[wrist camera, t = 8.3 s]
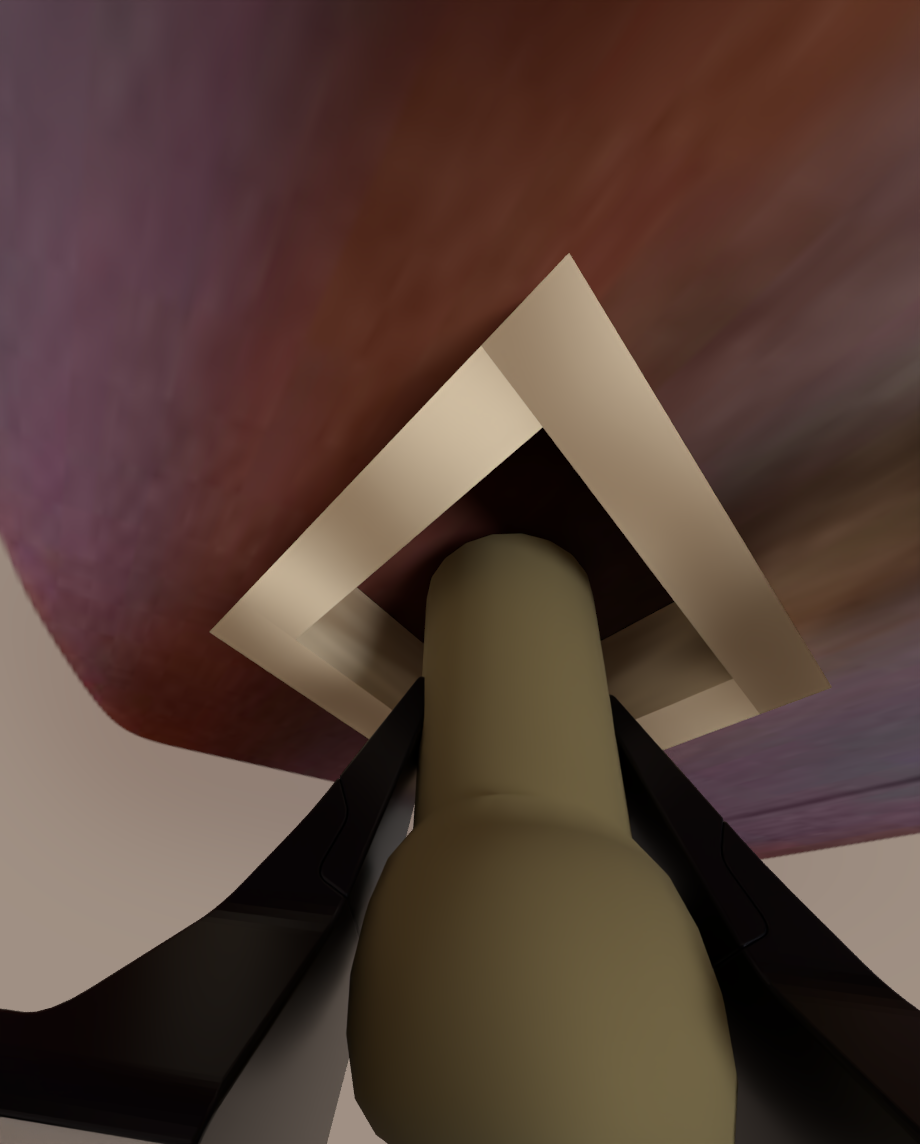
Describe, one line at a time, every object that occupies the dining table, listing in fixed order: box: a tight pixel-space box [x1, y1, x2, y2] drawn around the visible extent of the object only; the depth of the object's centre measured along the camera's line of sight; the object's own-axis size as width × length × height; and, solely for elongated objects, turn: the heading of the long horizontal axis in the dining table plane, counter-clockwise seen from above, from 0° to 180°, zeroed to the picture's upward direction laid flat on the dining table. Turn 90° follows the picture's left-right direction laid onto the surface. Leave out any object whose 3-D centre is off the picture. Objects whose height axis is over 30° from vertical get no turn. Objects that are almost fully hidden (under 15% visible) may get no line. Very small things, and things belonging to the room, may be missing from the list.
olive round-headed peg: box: [346, 533, 738, 1144], centre depth 9 cm, size 6×6×11 cm
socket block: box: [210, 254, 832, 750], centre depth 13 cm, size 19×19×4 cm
